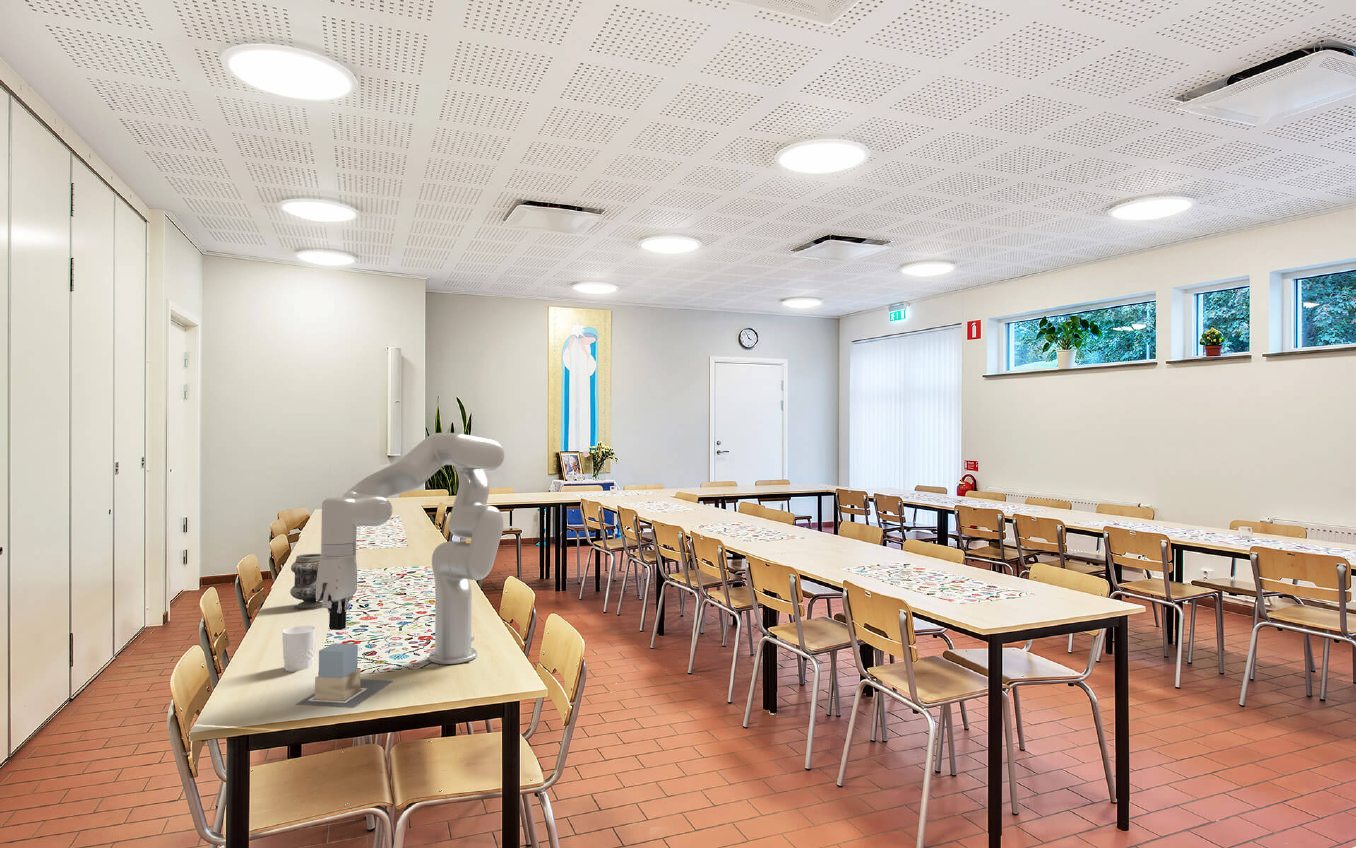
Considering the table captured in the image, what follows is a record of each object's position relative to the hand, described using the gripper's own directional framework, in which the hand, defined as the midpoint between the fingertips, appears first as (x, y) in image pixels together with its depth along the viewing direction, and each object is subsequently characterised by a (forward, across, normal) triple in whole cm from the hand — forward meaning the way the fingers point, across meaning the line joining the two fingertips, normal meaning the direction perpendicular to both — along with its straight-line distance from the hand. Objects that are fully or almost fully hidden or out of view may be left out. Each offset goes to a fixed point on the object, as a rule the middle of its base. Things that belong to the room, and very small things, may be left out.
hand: (337, 628), depth 176 cm
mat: (+16, -2, +1) cm, 16 cm away
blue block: (+10, 0, 0) cm, 10 cm away
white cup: (+16, -18, -22) cm, 33 cm away
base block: (+15, 0, 0) cm, 15 cm away
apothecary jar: (+16, -80, -60) cm, 101 cm away
